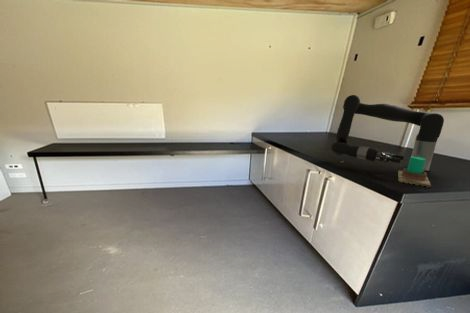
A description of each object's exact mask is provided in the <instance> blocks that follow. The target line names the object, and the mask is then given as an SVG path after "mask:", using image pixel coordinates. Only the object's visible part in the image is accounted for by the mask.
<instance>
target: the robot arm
mask: <svg viewBox="0 0 470 313" xmlns="http://www.w3.org/2000/svg"><path fill="white" fill-rule="evenodd" d="M342 109H343V114H342V117H341V120H340V123H339V126H338V127H337V132H336V135H335V139H336V141H335V142H333V143H332V144H331V146H330V149H331V151H332V152H333V153H334V154H335V155H336V156H342V155H347V156H348V157H352V158H357V159H360V160H364V161H369V162H376V161H380V162H384V163H396V164H399V163H401V161H403V160H404V158H405V156H403V155H399V154H395V153H394V152H386V151H382V152H379V149H378V148H376V147H369V146H358V145H352V144H349V143H348V138H349V136H350V132H351V128H352V123H353V120H354V116H355V114H356V115H363V116H368V117H372V118H377V119H380V120H385V121H389V122H397V123H398V122H400V123H408V124H413V125H414V126H418V127H420V128H419V131H418V133H417V134H416V137H415V141H414V144H413V149H412V152H411V153H412V154H411V156H412V157H418V155H419V157H422V158H425V159H426V161H425V164H424V168H423V171H424V172H426V171H429V170H430V167H431V165H432V164H431V163H432V160H433V156H434V153H435V150H436V144H437V142H438V139H439V138H440V135H441V133H442V130H443V127H444V122H445V119H444V116H443V115H441V114H440V113H437V112H427V111H426V112H425V111H417V110H411V109H408V108H406V107H402V106H398V105H394V104H389V103H376V104H368V103H367V104H366V103H363V102H361V98H360V97H359V96H358V95H356V94H351V95H348V96H347V97H346V98H345V99H344V102H343V105H342Z"/></svg>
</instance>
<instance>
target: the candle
mask: <svg viewBox="0 0 470 313" xmlns="http://www.w3.org/2000/svg"><path fill="white" fill-rule="evenodd" d="M425 161H426V159H425V158H422V157H419V155H418V157H412V155H411V156H410V157H409V161H408V165H407V171H408V172H411V173H417V174H422V172H423V168H424V164H425Z"/></svg>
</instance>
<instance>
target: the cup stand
mask: <svg viewBox="0 0 470 313" xmlns="http://www.w3.org/2000/svg"><path fill="white" fill-rule="evenodd" d="M407 168H408V167H407ZM407 168H403V169H402V170H400V169H399V170H398V171H397V179H398V180H397V181H399V183H403V182H404V183H405V184H408V183H409V184H410V185H413V184H415V185H414V186H419V185H421V186H420V187H424V186H426V187H425V188H429V187H430V188H432V185H431V181H430V180H429V177H428V174H427V172H426V171H423V172H422V174H417V173H411V172H408V171H407ZM409 184H408V185H409Z"/></svg>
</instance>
